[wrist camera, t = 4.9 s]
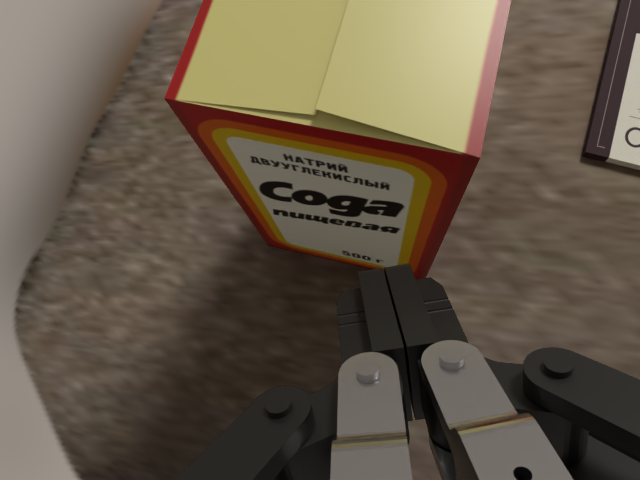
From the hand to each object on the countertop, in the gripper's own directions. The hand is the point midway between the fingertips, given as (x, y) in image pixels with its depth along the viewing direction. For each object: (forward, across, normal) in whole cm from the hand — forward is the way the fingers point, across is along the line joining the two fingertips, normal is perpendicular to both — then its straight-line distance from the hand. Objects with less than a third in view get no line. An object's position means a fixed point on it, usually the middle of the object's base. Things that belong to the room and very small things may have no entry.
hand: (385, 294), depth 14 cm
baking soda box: (+16, 0, +4) cm, 16 cm away
